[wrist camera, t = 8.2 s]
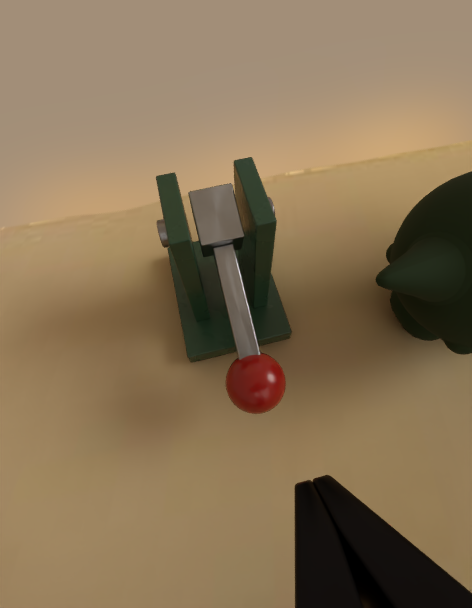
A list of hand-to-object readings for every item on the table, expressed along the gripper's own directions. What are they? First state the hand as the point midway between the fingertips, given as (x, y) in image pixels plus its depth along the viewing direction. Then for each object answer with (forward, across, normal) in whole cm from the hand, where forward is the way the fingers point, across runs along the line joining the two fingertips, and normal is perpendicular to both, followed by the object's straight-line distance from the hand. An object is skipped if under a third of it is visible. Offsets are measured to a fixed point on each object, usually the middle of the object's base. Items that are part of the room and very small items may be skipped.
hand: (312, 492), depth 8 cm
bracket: (+18, 0, 0) cm, 18 cm away
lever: (+12, 0, -1) cm, 12 cm away
